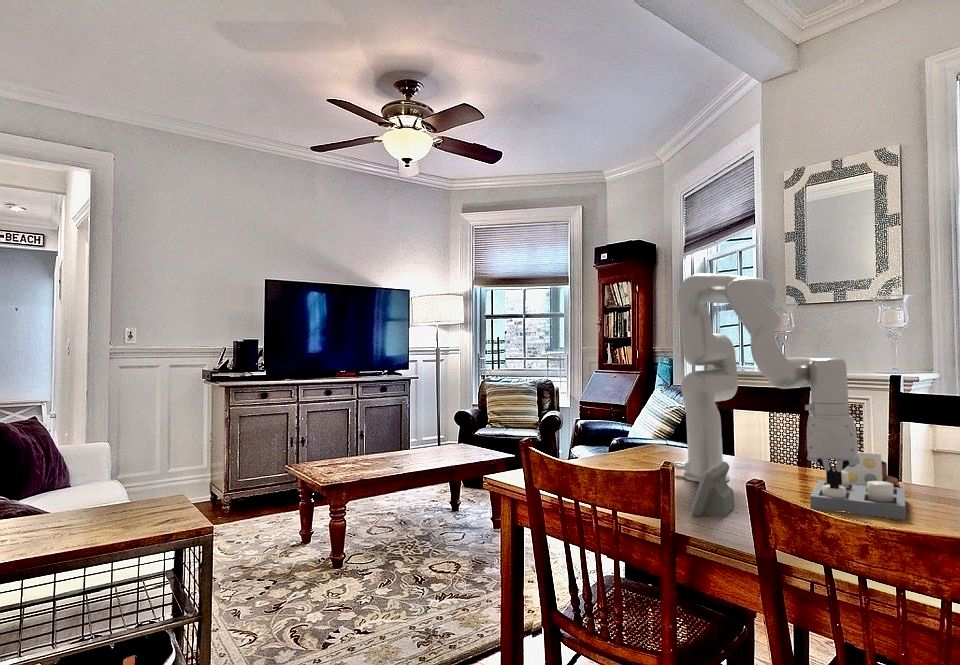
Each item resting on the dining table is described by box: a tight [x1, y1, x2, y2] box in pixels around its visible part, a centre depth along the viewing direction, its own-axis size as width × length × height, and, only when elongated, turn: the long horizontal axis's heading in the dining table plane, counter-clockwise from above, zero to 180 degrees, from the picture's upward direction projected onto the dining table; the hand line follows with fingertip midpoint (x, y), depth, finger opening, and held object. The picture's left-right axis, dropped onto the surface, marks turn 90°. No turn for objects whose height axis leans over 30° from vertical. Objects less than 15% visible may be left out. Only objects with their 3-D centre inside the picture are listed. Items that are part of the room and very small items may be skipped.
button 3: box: [867, 481, 894, 502], centre depth 131 cm, size 5×5×4 cm
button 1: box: [822, 485, 846, 498], centre depth 136 cm, size 5×5×4 cm
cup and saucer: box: [881, 460, 899, 486], centre depth 156 cm, size 12×12×6 cm
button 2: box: [825, 471, 849, 488], centre depth 143 cm, size 5×5×4 cm
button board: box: [809, 480, 907, 521], centre depth 137 cm, size 18×18×3 cm
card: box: [842, 451, 883, 485], centre depth 148 cm, size 10×3×10 cm, turn 54°
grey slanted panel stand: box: [689, 460, 735, 518], centre depth 137 cm, size 16×9×11 cm, turn 131°
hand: (834, 487), depth 136 cm, fingers closed
